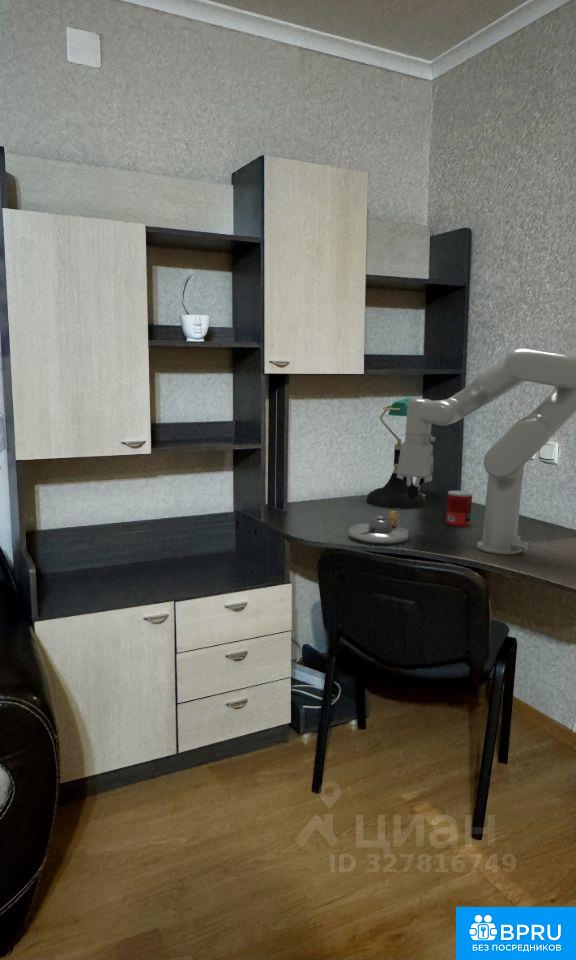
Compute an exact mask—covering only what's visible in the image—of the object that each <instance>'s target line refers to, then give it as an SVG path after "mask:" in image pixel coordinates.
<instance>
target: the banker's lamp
mask: <svg viewBox="0 0 576 960" xmlns="http://www.w3.org/2000/svg"><path fill="white" fill-rule="evenodd" d="M410 399H411V398H409V397H408V398H402V399H399V400H396V401H394V402H392V404H391V405H387V406H384V407H382V410H383V412H382V413H381V415H380V416H379V420H380V422H381V423H382V425H384V427H385V428H386V429H387V431H388V432H390V434H391V435H392V436H393V437H394V438H395V439H396V440H397V443H396V444H395V445H394V447H393V449H394V450H393V451H394V453H393V465H392V466H393V470H392V473H391V476H390V478H389V479H388V481H387V482H386V484H384V486H383V487H379V488H375V489H374V490H372V491H370V492H369V493H368V494H367V496H366V500H365V502H366V503H367V504H369V505H371V504H372V505H371V506H374V505H375V507H378V506H380V507H379V508H384V507H388V508H387V509H394V508H400V509H399V510H410V508H414V509H419V508H423V506H424V507H425V506H427V501H426V496H424V494H421V493H420V492H418V497H416V499H409V496H408V485H407V483H406V482H405V481H404V480H403V479H400V478H397V474H398V462H399V456H400V451H401V447H402V439H401V438H399V437H398V436H397V434H396V433H394V432H393V430H392V428H390V427H389V425H388V424H386V422H385V420H383V416H384V415H385V414H386V412H387V411H388V414H387V416H394V417H396V416H397V417H407V408H408V402H409V400H410Z"/></svg>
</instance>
